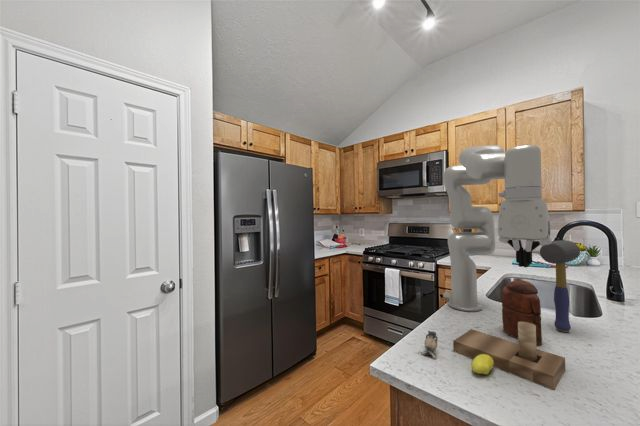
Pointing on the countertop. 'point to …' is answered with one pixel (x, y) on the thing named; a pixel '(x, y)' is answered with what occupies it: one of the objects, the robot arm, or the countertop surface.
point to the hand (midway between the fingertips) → (524, 266)
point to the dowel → (527, 341)
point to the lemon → (482, 364)
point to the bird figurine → (430, 344)
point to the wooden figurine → (521, 308)
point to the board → (512, 357)
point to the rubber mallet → (560, 277)
